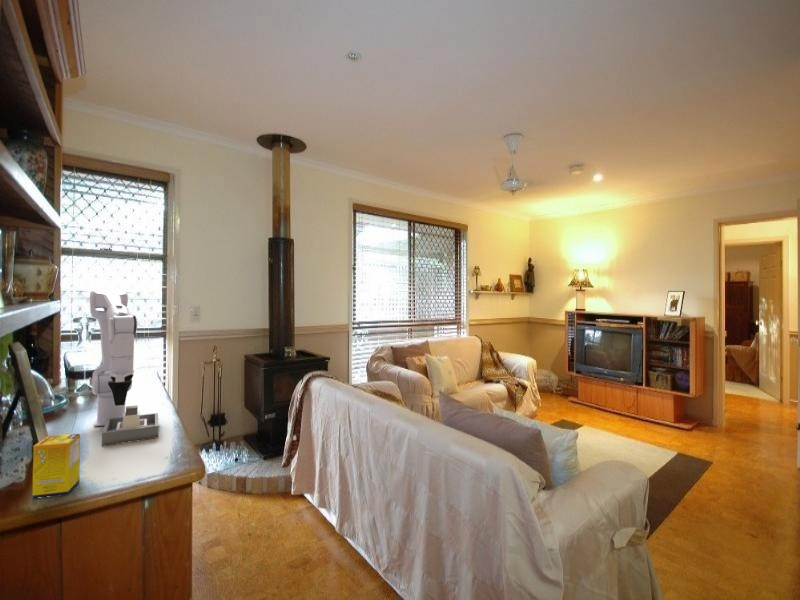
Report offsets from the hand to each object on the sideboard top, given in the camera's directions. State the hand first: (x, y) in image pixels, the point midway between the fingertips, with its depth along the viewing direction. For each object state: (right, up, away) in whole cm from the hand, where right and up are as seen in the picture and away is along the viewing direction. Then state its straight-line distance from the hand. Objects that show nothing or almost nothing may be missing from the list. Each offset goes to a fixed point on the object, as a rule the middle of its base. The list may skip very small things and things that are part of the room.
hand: (120, 401), depth 115 cm
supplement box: (+11, -10, -33) cm, 36 cm away
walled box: (+3, -10, 0) cm, 10 cm away
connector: (+3, -9, 0) cm, 9 cm away
